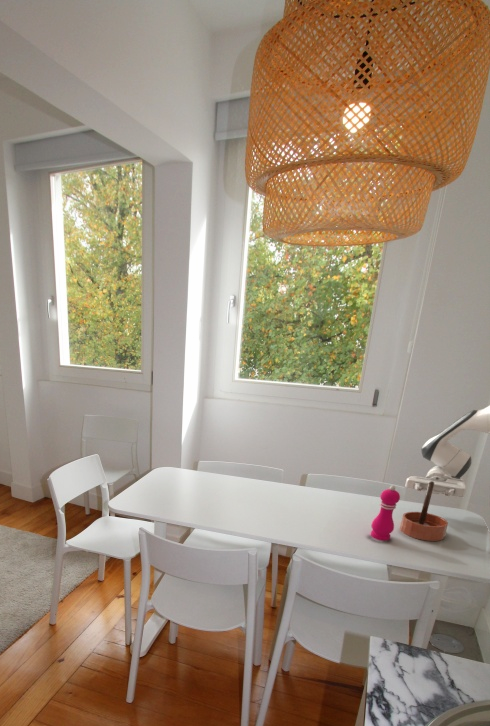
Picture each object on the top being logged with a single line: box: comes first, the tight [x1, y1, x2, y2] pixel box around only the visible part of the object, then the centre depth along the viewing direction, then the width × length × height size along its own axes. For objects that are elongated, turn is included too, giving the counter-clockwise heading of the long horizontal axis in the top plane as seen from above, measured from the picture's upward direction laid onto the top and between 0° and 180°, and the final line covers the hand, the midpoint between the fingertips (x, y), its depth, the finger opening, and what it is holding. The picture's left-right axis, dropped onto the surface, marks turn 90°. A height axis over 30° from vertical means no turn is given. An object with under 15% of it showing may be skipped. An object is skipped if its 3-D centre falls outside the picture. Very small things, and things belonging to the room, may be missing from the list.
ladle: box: [415, 481, 434, 526], centre depth 170 cm, size 6×6×19 cm
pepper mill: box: [370, 485, 401, 542], centre depth 164 cm, size 7×7×20 cm
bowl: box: [399, 511, 449, 542], centre depth 171 cm, size 14×14×6 cm
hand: (433, 491), depth 177 cm, fingers open, 8 cm apart
